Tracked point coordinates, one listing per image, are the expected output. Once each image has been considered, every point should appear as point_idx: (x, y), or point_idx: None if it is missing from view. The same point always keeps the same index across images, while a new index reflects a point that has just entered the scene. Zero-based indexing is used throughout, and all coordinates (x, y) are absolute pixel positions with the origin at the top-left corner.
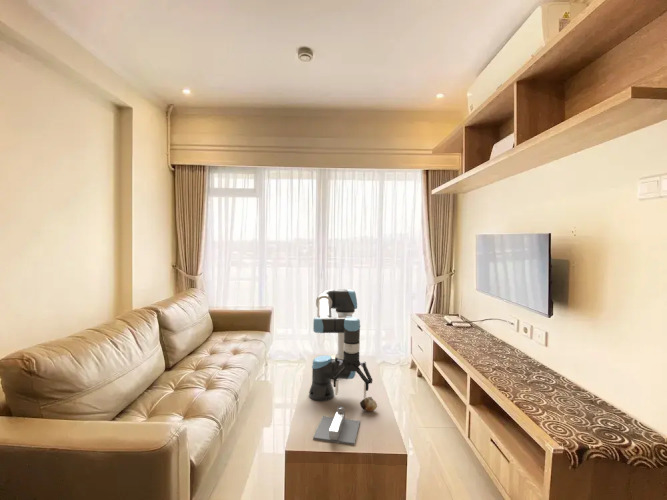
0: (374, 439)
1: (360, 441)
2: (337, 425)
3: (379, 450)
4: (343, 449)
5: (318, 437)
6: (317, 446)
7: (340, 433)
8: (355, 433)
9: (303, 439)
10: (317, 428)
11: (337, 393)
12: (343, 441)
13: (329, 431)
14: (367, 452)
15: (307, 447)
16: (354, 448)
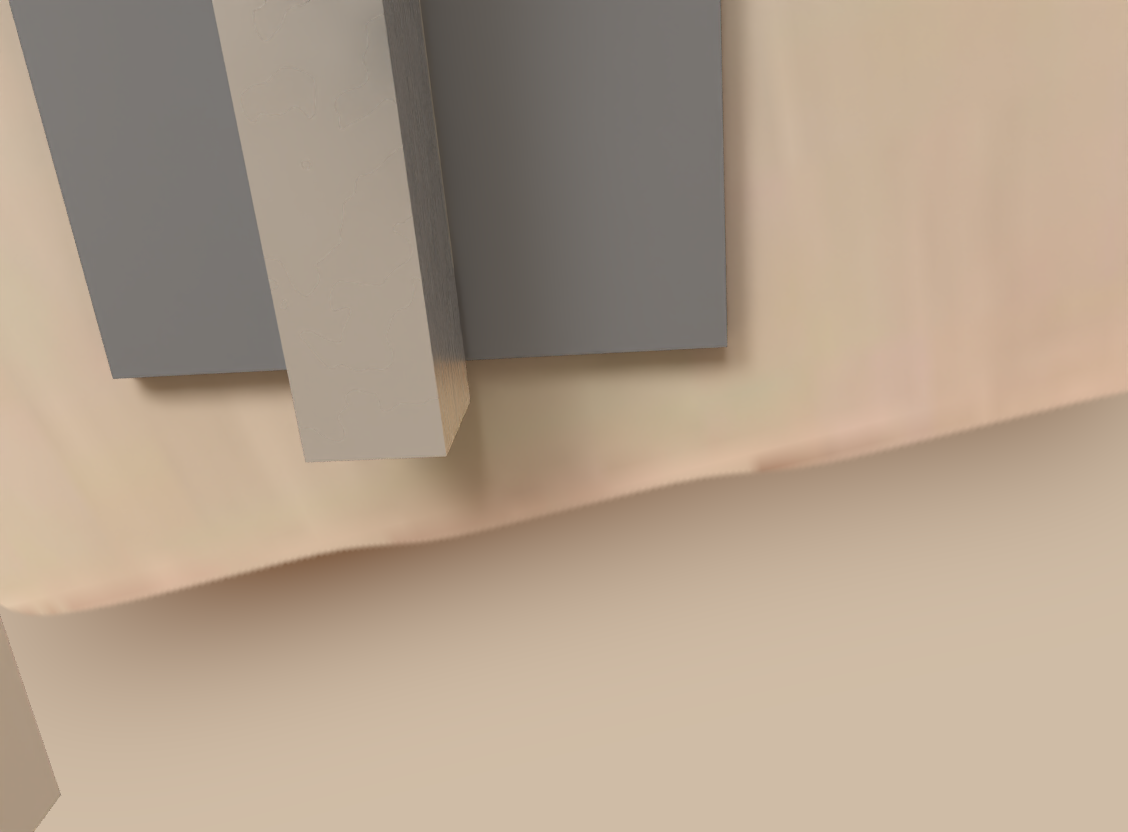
0: (1030, 89)
1: (800, 216)
2: (382, 280)
3: (1105, 350)
4: (594, 461)
5: (182, 359)
6: (254, 489)
7: (451, 159)
8: (696, 78)
9: (14, 403)
10: (50, 135)
11: (24, 721)
12: (557, 352)
13: (316, 454)
14: (927, 437)
15: (151, 537)
16: (736, 402)
